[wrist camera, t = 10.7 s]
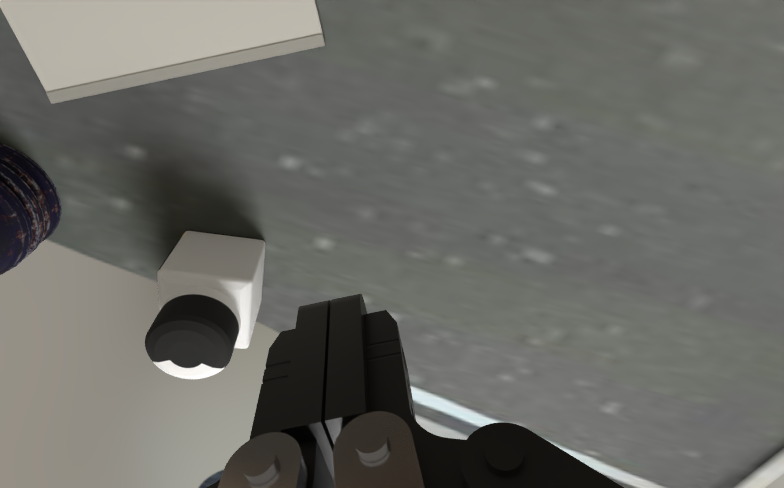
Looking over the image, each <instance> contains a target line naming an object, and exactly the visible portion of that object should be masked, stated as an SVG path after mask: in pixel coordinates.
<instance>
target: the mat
mask: <svg viewBox="0 0 784 488" xmlns="http://www.w3.org/2000/svg"><path fill="white" fill-rule="evenodd" d="M0 7H1V9H2V11H3V13H4V15H5V17H6V19H7V20H8V22H9V24H10V26H11V28H12V30H13V31H14V33H15V35H16V37H17V39H18V41H19V42H20V44H21V46H22V48H23V50H24V52H25V54H26V55H27V57H28V59H29V61H30V63H31V65H32V66H33V68H34V70H35V72H36V74H37V76H38V77H39V79H40V81H41V83H42V85H43V87H44V88H45V90H46V92H47V93H46V94H47V96H48V98H49V99H50V101H51V103H52V104H54V103H58V102H63V101H68V100H72V99H77V98H82V97H86V96H91V95H96V94H101V93H105V92H110V91H115V90H119V89H124V88H129V87H133V86H138V85H143V84H147V83H152V82H157V81H162V80H166V79H171V78H176V77H180V76H185V75H190V74H194V73H199V72H204V71H208V70H213V69H218V68H223V67H227V66H232V65H237V64H241V63H246V62H251V61H255V60H260V59H265V58H270V57H274V56H279V55H284V54H288V53H293V52H298V51H302V50H307V49H312V48H316V47H321V46H325V41H324V36H323V32H322V28H321V24H320V20H319V15H318V11H317V7H316V3H315V0H0Z"/></svg>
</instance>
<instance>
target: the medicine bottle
mask: <svg viewBox="0 0 784 488" xmlns="http://www.w3.org/2000/svg"><path fill="white" fill-rule="evenodd" d="M264 257H265V242H264V241H263V240H258V239H250V238H242V237H234V236H226V235H218V234H210V233H202V232H194V231H186V232H184V233H183V235H182V236H181V238H180V239H179V241H178V242H177V244H176V245H175V247H174V248H173V250H172V251H171V252H170V254H169V255H168V257H167V258H166V260H165V261H164V263H163V264H162V266H161V267H160V269H159V270H158V273H157V277H158V295H159V314H158V315H157V317H156V319H155V320H154V322H153V324H152V325H151V327H150V329H149V331H148V332H147V335H146V338H145V347H146V350H147V353H148V355H149V357H150V358H151V360H152V361H153V362H154V364H155V365H156V366H157V367H159V368H160V369H161V370H163V371H164V372H166V373H168V374H170V375H173V376H176V377H179V378H184V379H201V378H205V377H208V376H212V375H214V374H216V373H218V372H220V371H221V370H223V369H224V368H225V367H226V366H227V364H228V363H229V361H230V359H231V356H232V353H233V350H234V348H242V349H245V348H247V347H248V346H249V343H250V340H251V336H252V332H253V328H254V325H255V322H256V318H257V314H258V311H259V307H260V304H261V297H262V284H263V270H264Z"/></svg>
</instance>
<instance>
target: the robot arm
mask: <svg viewBox="0 0 784 488" xmlns="http://www.w3.org/2000/svg"><path fill="white" fill-rule="evenodd" d="M207 488H624V487H622V486H620V485H619V484H617V483H615V482H614V481H612V480H610V479H609V478H607V477H606V476H604V475H602V474H601V473H599V472H597V471H596V470H594V469H592V468H591V467H589V466H587V465H586V464H584V463H583V462H581V461H579V460H578V459H576V458H574V457H573V456H571V455H569V454H568V453H566V452H564V451H563V450H561V449H559V448H558V447H556V446H555V445H553V444H551V443H550V442H548V441H546V440H545V439H543V438H541V437H540V436H538V435H536V434H535V433H533V432H532V431H530V430H528V429H526V428H524V427H522V426H519V425H516V424H511V423H493V424H489V425H486V426H483V427H481V428H479V429H478V430H476V431H474V432H473V433H472V434H471V435H470V436H469V437H468V439H467V440H460V439H451V438H444V437H439V436H436V435H433V434H431V433H429V432H427V431H426V430H425V429H423V428H422V427H421V426H420V425H419V424H418V423H417V422H416V418H415V412H414V406H413V400H412V394H411V388H410V381H409V375H408V369H407V365H406V360H405V356H404V352H403V347H402V343H401V339H400V335H399V330H398V326H397V322H396V321H395V320H394V319H393V318H392V316H391V315H390V314H389V313H388V312H387V311H386V310H384V311H379V312H374V313H369V314H367V311H366V307H365V303H364V300H363V297H362V294H358V295H353V296H348V297H343V298H338V299H333V300H331V301H330V300H329V301H324V302H319V303H315V304H310V305H305V306H300V307H299V309H298V315H297V322H296V329H292V330H287V331H282V332H281V333H280V334H279V336H278V337H277V338H276V340H275V341H274V343H273V344H272V346H271V347H270V348H269V353H268V358H267V362H266V369H265V372H264V376H263V384H262V385H261V390H260V394H259V399H258V403H257V408H256V413H255V417H254V422H253V426H252V431H251V436H250V440H249V441H248V442H246V443H245V444H244V445H242V446H241V447H240V448H239V449H238V450H237V451H236V452H235V453H234V454H233V455H232V457H231V458H230V459H229V461H228V463H227V464H226V466H225V469H224V471H223V474H222V477H221V479H220V480H219V481H217V482H216V483H214V484H212V485H211V486H209V487H207Z"/></svg>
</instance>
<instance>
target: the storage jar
mask: <svg viewBox="0 0 784 488" xmlns="http://www.w3.org/2000/svg"><path fill="white" fill-rule="evenodd" d="M60 217H61V203H60V198H59V195H58V193H57V190H56V188H55V186H54V184H53V183H52V181H51V180H50V178H49V177H48V176H47V174H46V173H45V172H44V171H43V170H42V169H41V168H40V167H39V166H38V165H37V164H36V163H35V162H34V161H32V160H31V159H30V158H29V157H27V156H26V155H24V154H22V153H21V152H19V151H17V150H15V149H13V148H11V147H9V146H7V145H4V144H1V143H0V275H1V274H3V273H5V272H6V271H8V270H10V269H12V268H14V267H15V266H17V265H18V264H19V263H20V262H21V261H22V260H23V259H24V258H25V257H27V256H28V255H29V254H30V253H31V252H33V251H34V250H35V249H36V248H37V247H38V245H39V244H40V243H41V242H42V241H44V240H45V239H46V238H47V237H49V236H50V235H51V234H52V233H53V232H54V230H55V229H56V228H57V226H58V224H59V221H60Z"/></svg>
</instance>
